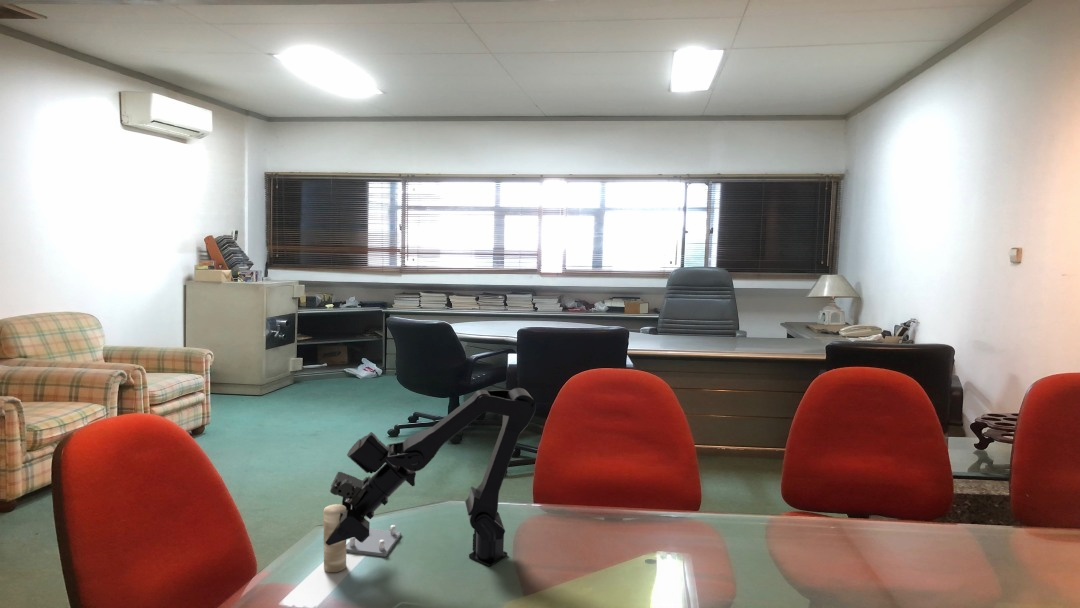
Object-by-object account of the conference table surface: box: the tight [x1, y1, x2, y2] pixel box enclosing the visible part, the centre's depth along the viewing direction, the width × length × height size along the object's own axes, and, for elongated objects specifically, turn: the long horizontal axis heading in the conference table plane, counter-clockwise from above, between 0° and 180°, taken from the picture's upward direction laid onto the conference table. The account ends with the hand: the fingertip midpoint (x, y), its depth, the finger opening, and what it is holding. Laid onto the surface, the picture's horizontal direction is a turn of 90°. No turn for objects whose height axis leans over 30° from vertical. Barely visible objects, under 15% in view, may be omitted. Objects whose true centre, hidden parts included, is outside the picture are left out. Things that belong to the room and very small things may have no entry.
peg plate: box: [346, 524, 402, 557], centre depth 146 cm, size 10×10×3 cm
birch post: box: [322, 503, 347, 573], centre depth 135 cm, size 5×5×13 cm
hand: (328, 538), depth 134 cm, fingers closed on birch post, 5 cm apart
